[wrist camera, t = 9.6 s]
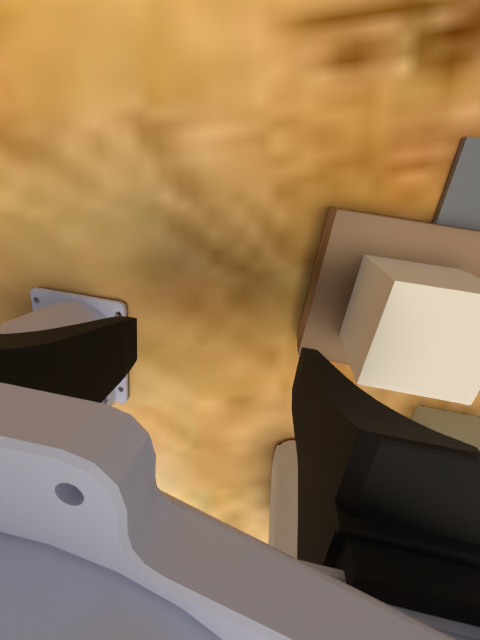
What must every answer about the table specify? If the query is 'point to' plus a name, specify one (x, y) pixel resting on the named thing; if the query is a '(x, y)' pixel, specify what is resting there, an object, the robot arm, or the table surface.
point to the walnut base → (376, 240)
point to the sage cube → (450, 424)
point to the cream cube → (414, 329)
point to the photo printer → (284, 499)
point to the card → (462, 189)
